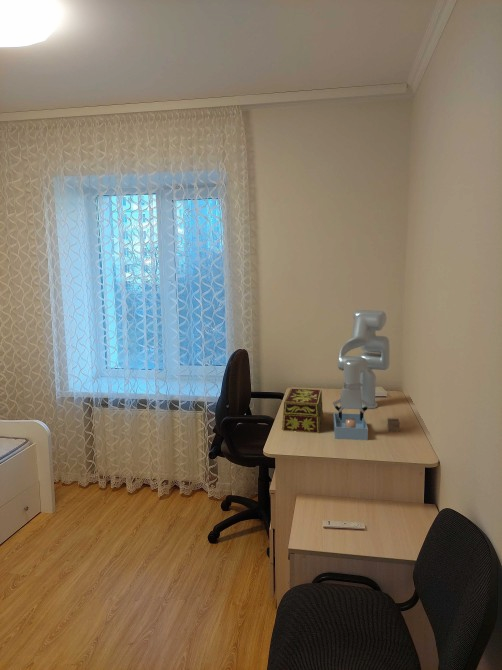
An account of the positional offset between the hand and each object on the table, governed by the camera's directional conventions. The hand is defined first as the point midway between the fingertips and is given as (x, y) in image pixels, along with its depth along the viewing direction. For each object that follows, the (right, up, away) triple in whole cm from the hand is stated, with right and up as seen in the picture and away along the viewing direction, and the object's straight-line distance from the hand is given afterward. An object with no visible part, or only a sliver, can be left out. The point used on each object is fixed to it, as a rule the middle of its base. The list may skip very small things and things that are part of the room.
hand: (350, 419), depth 222 cm
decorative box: (-21, -5, +18) cm, 28 cm away
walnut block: (+23, -6, +7) cm, 25 cm away
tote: (0, -7, +5) cm, 8 cm away
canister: (0, -7, 0) cm, 7 cm away
